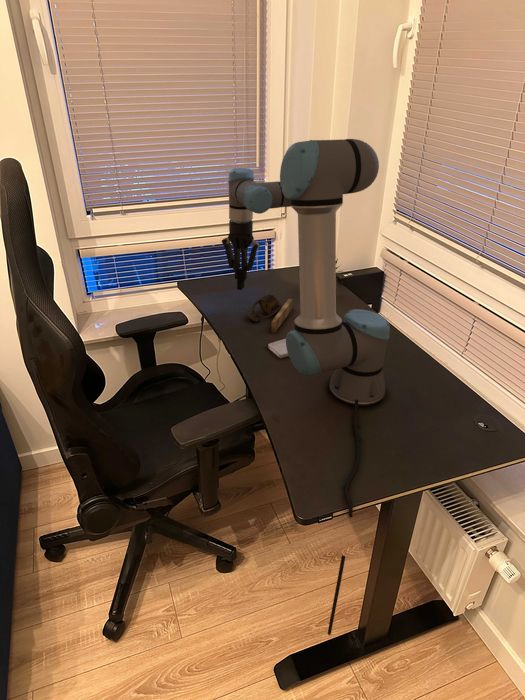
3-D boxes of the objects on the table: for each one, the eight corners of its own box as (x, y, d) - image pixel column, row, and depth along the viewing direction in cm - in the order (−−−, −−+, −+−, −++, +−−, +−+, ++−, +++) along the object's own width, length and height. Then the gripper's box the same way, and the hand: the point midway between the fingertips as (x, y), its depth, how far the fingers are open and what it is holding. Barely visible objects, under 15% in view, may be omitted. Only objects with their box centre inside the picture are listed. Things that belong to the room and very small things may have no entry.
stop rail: (275, 332, 165) (275, 322, 162) (271, 332, 165) (271, 321, 163) (291, 309, 179) (292, 299, 177) (288, 308, 179) (288, 298, 177)
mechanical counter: (288, 305, 170) (277, 288, 176) (254, 308, 165) (244, 289, 171) (284, 321, 174) (273, 304, 181) (250, 324, 169) (240, 306, 176)
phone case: (305, 335, 164) (267, 347, 157) (306, 332, 163) (267, 343, 156) (319, 346, 158) (280, 358, 151) (320, 342, 158) (280, 355, 151)
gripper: (264, 219, 160) (262, 287, 172) (226, 214, 164) (227, 281, 176) (255, 225, 154) (254, 295, 166) (217, 220, 158) (218, 289, 170)
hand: (240, 288), depth 171 cm, fingers closed
